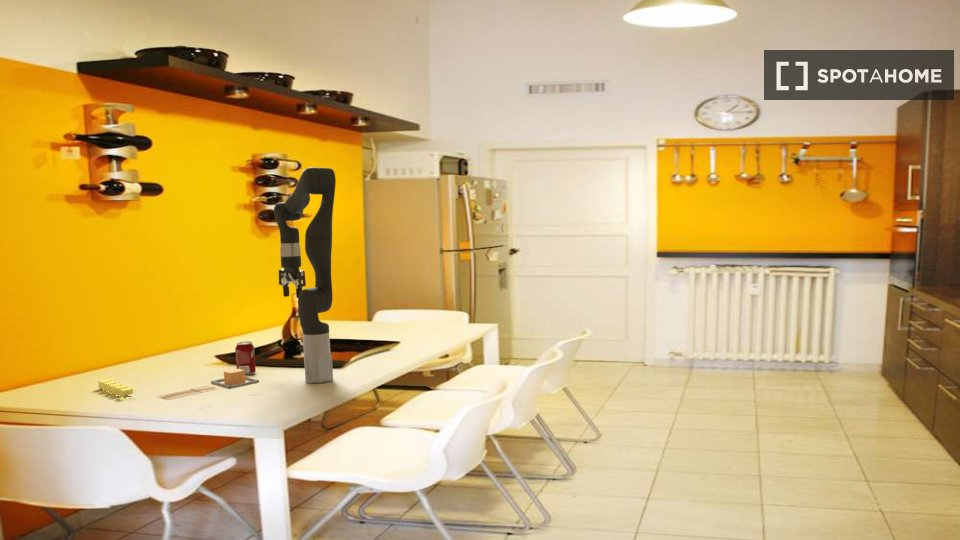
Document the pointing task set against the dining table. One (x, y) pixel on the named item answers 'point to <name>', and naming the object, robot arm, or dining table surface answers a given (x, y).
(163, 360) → the dining table surface
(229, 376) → the block
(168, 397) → the wooden board
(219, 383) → the tray
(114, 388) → the yellow flower cubes
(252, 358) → the soda can
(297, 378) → the dining table surface
